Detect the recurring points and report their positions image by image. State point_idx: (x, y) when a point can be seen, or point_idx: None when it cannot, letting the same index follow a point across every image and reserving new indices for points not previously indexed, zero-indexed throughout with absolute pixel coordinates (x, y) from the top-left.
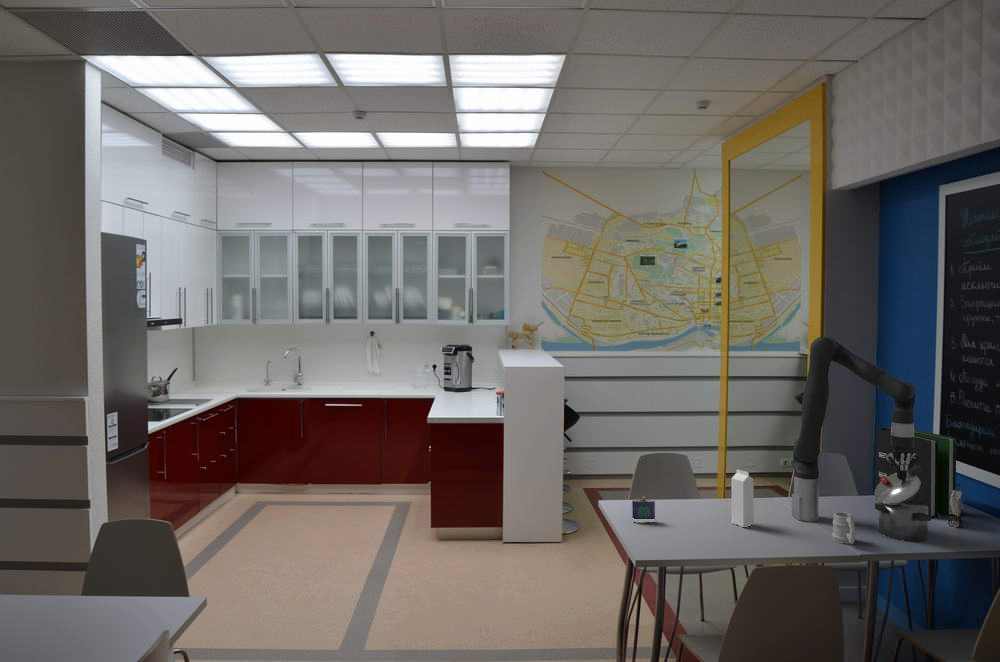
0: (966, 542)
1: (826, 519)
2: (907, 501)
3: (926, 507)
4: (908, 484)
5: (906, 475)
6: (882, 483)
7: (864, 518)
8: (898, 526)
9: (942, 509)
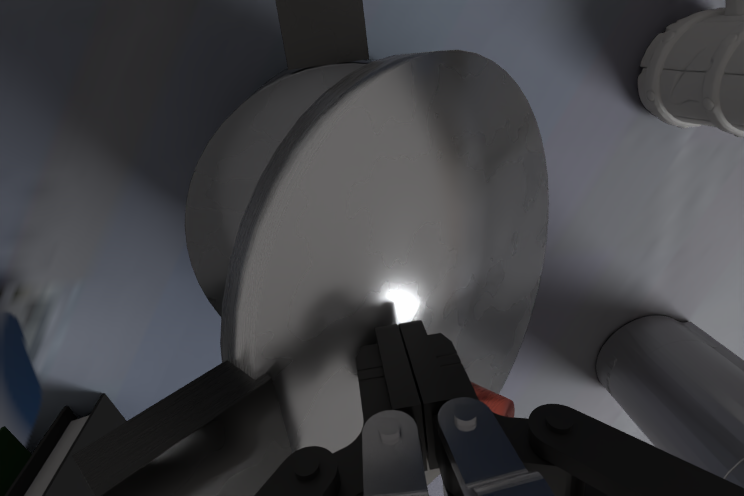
0: (41, 52)
1: (570, 347)
2: None
3: (225, 130)
4: (386, 223)
5: (359, 374)
6: None
7: None
8: None
9: (10, 468)
